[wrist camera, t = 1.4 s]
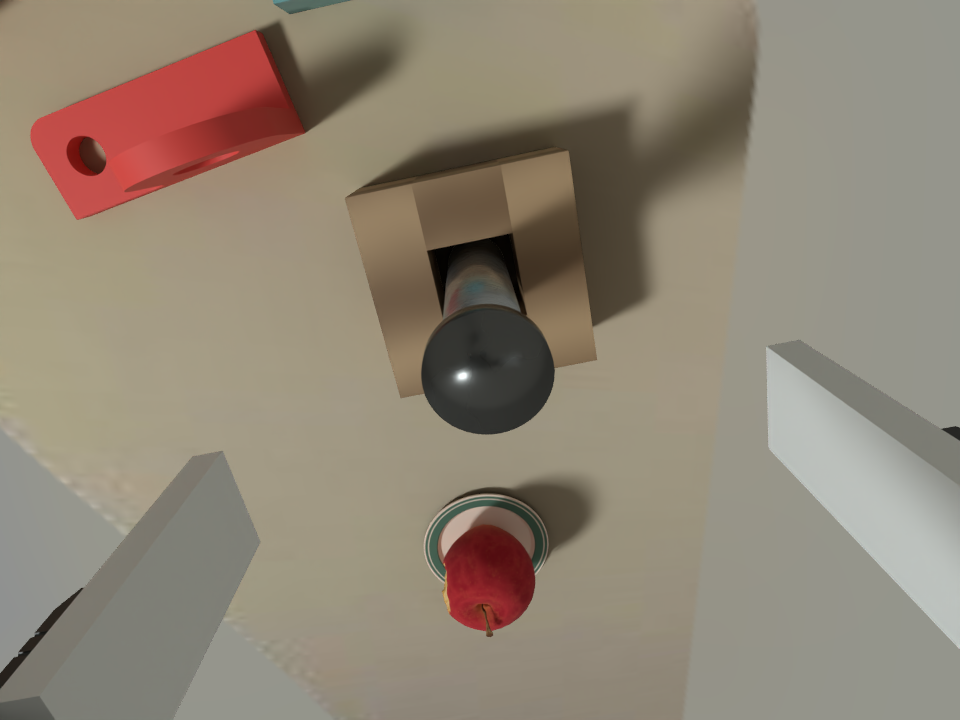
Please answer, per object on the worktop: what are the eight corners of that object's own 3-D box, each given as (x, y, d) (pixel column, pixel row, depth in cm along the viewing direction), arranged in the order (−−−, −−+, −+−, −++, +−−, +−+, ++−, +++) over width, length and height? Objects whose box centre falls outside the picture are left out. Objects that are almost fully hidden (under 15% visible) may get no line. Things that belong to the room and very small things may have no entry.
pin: (431, 235, 31) (406, 326, 17) (506, 219, 31) (543, 299, 17) (447, 307, 32) (437, 445, 19) (519, 292, 32) (563, 421, 18)
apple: (476, 607, 40) (478, 693, 34) (398, 534, 38) (386, 613, 32) (571, 547, 39) (591, 626, 33) (497, 466, 36) (504, 535, 30)
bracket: (263, 33, 27) (190, 1, 20) (306, 132, 29) (253, 136, 22) (36, 126, 28) (-111, 127, 21) (90, 216, 30) (-30, 247, 23)
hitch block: (359, 188, 30) (344, 197, 26) (555, 146, 29) (568, 150, 26) (407, 367, 33) (400, 398, 30) (581, 332, 33) (596, 359, 29)
